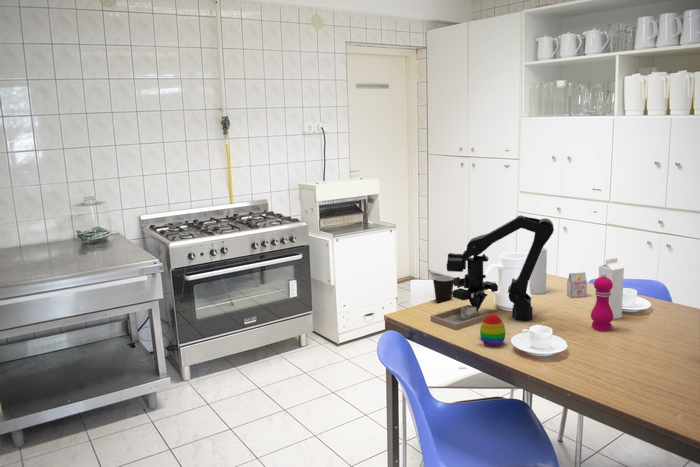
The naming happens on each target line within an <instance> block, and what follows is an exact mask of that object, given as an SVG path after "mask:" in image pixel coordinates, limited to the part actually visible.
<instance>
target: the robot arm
mask: <svg viewBox="0 0 700 467" xmlns="http://www.w3.org/2000/svg"><path fill="white" fill-rule="evenodd" d="M520 229H524V230H526V231H529V232H532V233H534V234H533V235H534V236H533V242H532V244H531V245H530V248H529V250H528V254H527V256H526V258H525V260H524V263H523V265H522V268H521V270H520V272H519V275H518V276H517V278H516V279H515V278H512V279H511V283H510V285H509V286H508V288H507V293H508V299H509V301H510V302H511V303H512V309H511V312H512V313H511V314H512V315H511V316H512V318H514V319H515V320H516V321H520V322H529V321H532V320H533V306H532V297H531V296H530V295H529V294H528V293H527V292H528V286H529V285H528V284H529V282H530V276H531V274H532V272H533V269H534V267H535V265H536V262H537V260H538V257H539V255H540V253H541V250H542V248H543V247H545V245H546V244H547V242H548V241H549V240H550V239H551V236H552V235H553V233H554V230H555V229H554V223H553V221H552V220H551V219H549V218H541V219H539V218H536V217H530V216H529V217H528V216H524V215H517V216H516V217H515V218H514V219H512V220H510V221H508V222H506V223H504V224H503V225H500V226H499V227H498V228H495V229H494V230H492V231H490V232H488V233H485V234H481V235H478V236H475V237H473V238H471V239H470V240H469V241H468V243H467V245H466V250H464V251H463V253H453V252H449V253H448V254H447V262H446V271H447V272H451V273H452V272H453V273H454V272H455V273H456V272H459V273H460V272H461V273H463V271H464V270H467V273H466V274H464V277H463V278H461V277H460V276H457V277H453V287H457V289H453V293H452V298H455V299H458V300H460V301H467V300H469V303H470V305H471V306H474V307H476V314H477V313H478V312H479V310H480V308H481V307H482V306H481V305H483V302H485V299H486V297H488V294H487V293H486V292H485V291H487V290H488V291H489V290H490V291H491V292H492V293H495V292H498V290H499V286H498V284H497V283H496V282H492V281H489V280H488V281H484V279H486V277H487V275H486V274H484V263H485V262H488V261H489V257H488V256H486V254H485V253H484V252H485V251H486V250H487V249H488V248H489V247H490V246H491V245H493V244H494V243H497V242H498V241H500V240H501V239H503V238H505V237H507V236H509V235H511V234H512V233H515V232H516V231H518V230H520ZM481 254H482V255H481ZM462 287H463V288H462Z"/></svg>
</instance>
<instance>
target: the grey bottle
mask: <svg viewBox="0 0 700 467" xmlns="http://www.w3.org/2000/svg"><path fill="white" fill-rule="evenodd" d="M547 252H548V251H547V249H546V248H545V246H543V248H542V250H541V253H540V255H539V257H538V260H537V262H536V265H535V267H534V269H533V272H532V274H531V276H530V279H529V292H530V291H531V293H530V294H532V295H536V296H537V295H538V296H539V295H545V294H546V293H547V260H548V259H547V254H548V253H547Z"/></svg>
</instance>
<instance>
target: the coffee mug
mask: <svg viewBox="0 0 700 467" xmlns="http://www.w3.org/2000/svg"><path fill="white" fill-rule="evenodd" d="M453 278H454V277H453V276H450V275H437V276H434V277H433V278H432V281H433V289H434V295H435V302H436V304H443V303H445V302H450V301H452V300H453V291H454V284H453Z"/></svg>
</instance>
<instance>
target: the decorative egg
mask: <svg viewBox="0 0 700 467" xmlns="http://www.w3.org/2000/svg"><path fill="white" fill-rule="evenodd" d="M479 336H480V339H481V340H482V341H483V344H484V345H486V346H489V347H499V346H501V345H502V344H503V343H504V341H505V338H506V327H505V325H504V322H503V320H502V318H500V317H499V316H498V315H497V314H489V316H487V317H486V318H485V319H484V321H483V322H481V325H480V330H479Z"/></svg>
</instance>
